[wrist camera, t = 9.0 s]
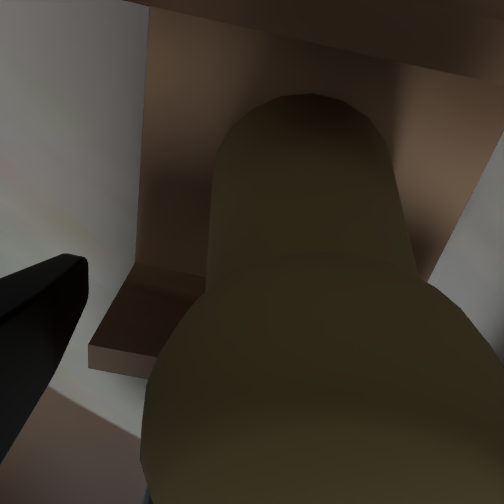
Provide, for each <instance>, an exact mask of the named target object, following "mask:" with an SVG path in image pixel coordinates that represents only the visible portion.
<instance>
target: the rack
mask: <svg viewBox="0 0 504 504" xmlns="http://www.w3.org/2000/svg"><path fill="white" fill-rule="evenodd" d="M124 1H129V2H133V3H138V4H142V5H147V6H149V24H148V42H147V60H146V77H145V95H144V113H143V130H142V148H141V166H140V183H139V201H138V219H137V236H136V254H135V264H134V266H133V267H132V269H131V271H130V273H129V274H128V276H127V278H126V280H125V281H124V283H123V285H122V287H121V288H120V290H119V292H118V293H117V295H116V297H115V299H114V300H113V302H112V304H111V306H110V307H109V309H108V311H107V313H106V314H105V316H104V318H103V320H102V321H101V323H100V325H99V326H98V328H97V330H96V332H95V333H94V335H93V337H92V339H91V340H90V342H89V344H88V368H90V369H96V370H101V371H106V372H112V373H117V374H123V375H128V376H133V377H139V378H144V379H149V378H150V375H151V372H152V370H153V367H154V365H155V362H156V359H157V357H158V354H159V352H160V351H161V349H162V348H163V346H164V345H165V343H166V342H167V340H168V339H169V337H170V336H171V334H172V333H173V331H174V330H175V328H176V326H177V325H178V323H179V322H180V320H181V319H182V317H183V316H184V315H185V314H186V312H187V311H188V310H189V309H190V307H191V306H192V305H193V304H194V303H195V301H196V300H197V299H198V298H199V297H200V296H201V295H203V294H204V293H205V290H206V273H207V256H208V239H209V223H210V206H211V189H212V178H213V172H214V166H215V161H216V155H217V152H218V151H219V149H220V147H221V145H222V143H223V142H224V140H225V138H226V136H227V134H228V133H229V131H230V129H231V128H232V127H233V126H234V125H235V124H236V123H238V122H239V121H240V120H241V119H242V118H243V117H244V116H245V115H246V114H247V113H249V112H250V111H251V110H252V109H253V108H255V107H258V106H260V105H262V104H265V103H267V102H269V101H271V100H274V99H276V98H278V97H280V96H289V95H299V94H310V93H314V94H318V95H322V96H326V97H330V98H334V99H338V100H342V101H344V102H346V103H347V104H349V105H350V106H352V107H353V108H355V109H356V110H358V111H359V112H361V113H362V114H364V115H366V116H367V117H368V118H369V119H370V120H371V122H372V123H373V124H374V126H375V127H376V129H377V130H378V131H379V133H380V134H381V135H382V137H383V138H384V139H385V141H386V145H387V148H388V152H389V155H390V159H391V162H392V166H393V170H394V174H395V178H396V182H397V187H398V191H399V195H400V199H401V204H402V208H403V212H404V216H405V221H406V225H407V229H408V233H409V238H410V242H411V246H412V250H413V255H414V259H415V263H416V267H417V272H418V276H419V278H420V279H422V280H423V281H425V282H427V281H428V279H429V277H430V275H431V273H432V271H433V269H434V267H435V265H436V263H437V261H438V259H439V257H440V256H441V254H442V252H443V250H444V248H445V246H446V244H447V242H448V240H449V238H450V236H451V234H452V232H453V230H454V228H455V226H456V224H457V222H458V220H459V218H460V216H461V214H462V212H463V210H464V208H465V206H466V204H467V202H468V200H469V198H470V196H471V194H472V192H473V190H474V188H475V186H476V184H477V182H478V180H479V178H480V177H481V175H482V173H483V171H484V169H485V167H486V165H487V163H488V161H489V159H490V157H491V155H492V153H493V151H494V149H495V147H496V145H497V143H498V141H499V139H500V137H501V135H502V133H503V131H504V0H124Z"/></svg>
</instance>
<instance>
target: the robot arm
mask: <svg viewBox="0 0 504 504" xmlns="http://www.w3.org/2000/svg"><path fill="white" fill-rule="evenodd" d="M88 294H89V283H88V262H87V259H86V258H85V257H82V256H77V255H72V254H66V253H65V254H61V255H58V256H56V257H53V258H51V259H48V260H46V261H43V262H41V263H38V264H35V265H33V266H30V267H28V268H25V269H23V270H20V271H18V272H15V273H13V274H10V275H8V276H5V277H3V278H0V464H1V462H2V461H3V459H4V457H5V456H6V454H7V452H8V451H9V449H10V447H11V446H12V444H13V442H14V441H15V439H16V437H17V436H18V434H19V432H20V431H21V429H22V427H23V426H24V424H25V422H26V421H27V419H28V417H29V416H30V414H31V412H32V411H33V409H34V407H35V406H36V404H37V402H38V401H39V399H40V397H41V396H42V394H43V392H44V391H45V389H46V387H47V386H48V384H49V382H50V381H51V379H52V377H53V375H54V373H55V371H56V369H57V367H58V365H59V363H60V361H61V359H62V357H63V354H64V352H65V350H66V348H67V345H68V343H69V341H70V339H71V337H72V334H73V332H74V330H75V328H76V325H77V323H78V321H79V319H80V317H81V314H82V312H83V310H84V308H85V305H86V303H87V299H88ZM142 504H153V501H152V499H151V496H150V493H149V489H148V486H147V487H146V490H145V494H144V497H143V501H142Z"/></svg>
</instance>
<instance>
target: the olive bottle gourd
mask: <svg viewBox="0 0 504 504" xmlns="http://www.w3.org/2000/svg"><path fill="white" fill-rule="evenodd" d="M140 461H141V465H142V468H143V472H144V475H145V478H146V482H147V486H148V489H149V493H150V496H151V499H152V501H153V504H504V367H503V365H502V364H501V362H500V360H499V359H498V357H497V356H496V354H495V352H494V351H493V349H492V348H491V346H490V345H489V343H488V342H487V341H486V340H485V338H484V337H483V336H482V335H481V333H480V332H479V331H478V330H477V328H476V327H475V326H474V325H473V323H472V322H471V321H470V320H469V318H468V317H467V316H466V315H465V313H464V312H463V311H462V310H461V308H459V307H458V306H457V305H456V304H455V303H453V302H452V301H451V300H450V299H449V298H448V297H446V296H445V295H444V294H443V293H442V292H441V291H439V290H438V289H437V288H435V287H434V286H432V285H430V284H429V283H427V282H425V281H423V280H422V279H420V278H419V276H418V272H417V267H416V263H415V259H414V255H413V250H412V246H411V242H410V238H409V233H408V229H407V225H406V221H405V216H404V212H403V208H402V204H401V199H400V195H399V191H398V187H397V182H396V178H395V174H394V170H393V166H392V162H391V159H390V155H389V152H388V148H387V145H386V141H385V139H384V138H383V137H382V135H381V134H380V133H379V131H378V130H377V129H376V127H375V126H374V124H373V123H372V122H371V120H370V119H369V118H368V117H367V116H366V115H364V114H362V113H361V112H359V111H358V110H356V109H355V108H353V107H352V106H350V105H349V104H347V103H346V102H344V101H342V100H338V99H334V98H330V97H326V96H322V95H318V94H314V93H310V94H299V95H289V96H280V97H278V98H276V99H274V100H271V101H269V102H267V103H265V104H262V105H260V106H258V107H255V108H253V109H252V110H251V111H250V112H249V113H247V114H246V115H245V116H244V117H243V118H242V119H241V120H240V121H239V122H238V123H236V124H235V125H234V126H233V127H232V128H231V129H230V131H229V133H228V134H227V136H226V138H225V140H224V142H223V143H222V145H221V147H220V149H219V151H218V152H217V155H216V161H215V166H214V172H213V178H212V189H211V206H210V223H209V239H208V256H207V273H206V290H205V293H204V294H203V295H201V296H200V297H199V298H198V299H197V300H196V301H195V303H194V304H193V305H192V306H191V307H190V309H189V310H188V311H187V312H186V314H185V315H184V316H183V317H182V319H181V320H180V322H179V323H178V325H177V326H176V328H175V330H174V331H173V333H172V334H171V336H170V337H169V339H168V340H167V342H166V343H165V345H164V346H163V348H162V349H161V351H160V352H159V354H158V357H157V359H156V362H155V365H154V367H153V370H152V372H151V375H150V378H149V380H148V383H147V386H146V394H145V402H144V410H143V418H142V430H141V446H140Z"/></svg>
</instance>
